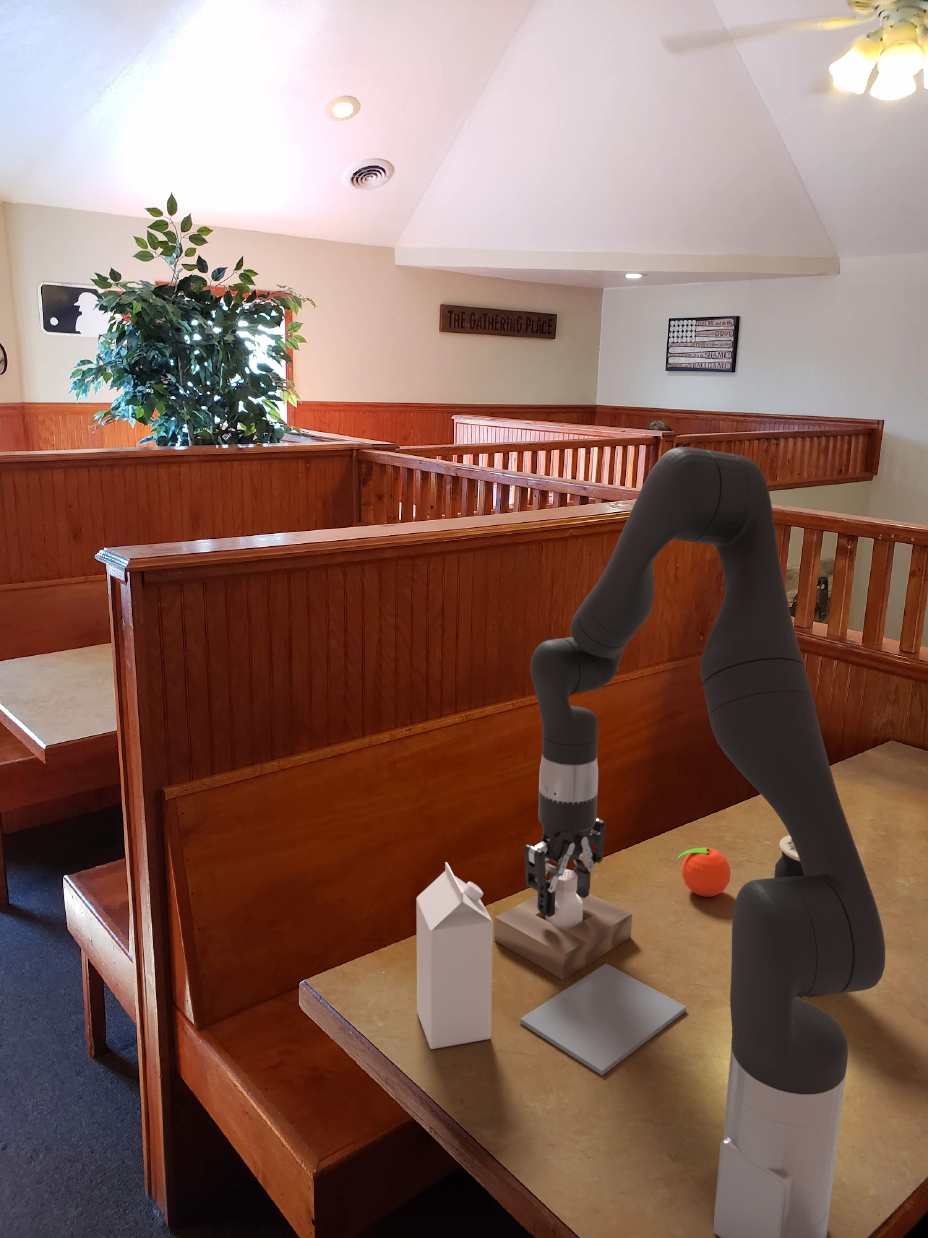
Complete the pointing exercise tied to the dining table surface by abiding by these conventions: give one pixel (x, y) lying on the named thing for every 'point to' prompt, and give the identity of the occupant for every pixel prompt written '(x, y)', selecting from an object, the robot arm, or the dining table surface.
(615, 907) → the shaker holder
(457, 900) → the milk carton
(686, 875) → the clementine
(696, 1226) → the dining table surface
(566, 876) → the salt shaker
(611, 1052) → the placemat
